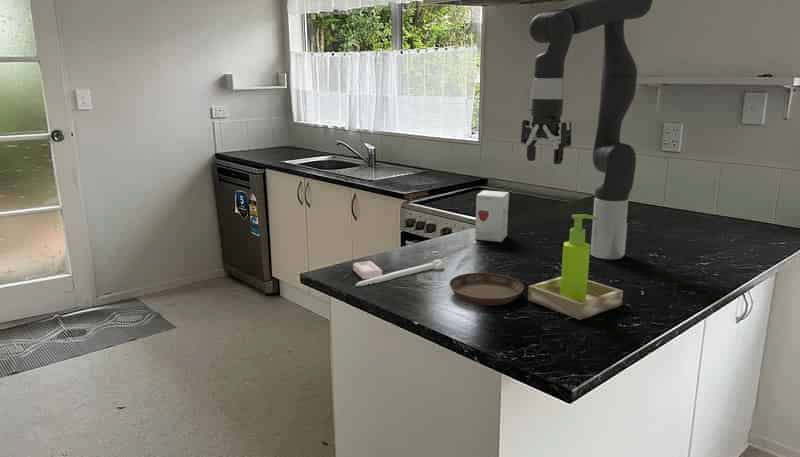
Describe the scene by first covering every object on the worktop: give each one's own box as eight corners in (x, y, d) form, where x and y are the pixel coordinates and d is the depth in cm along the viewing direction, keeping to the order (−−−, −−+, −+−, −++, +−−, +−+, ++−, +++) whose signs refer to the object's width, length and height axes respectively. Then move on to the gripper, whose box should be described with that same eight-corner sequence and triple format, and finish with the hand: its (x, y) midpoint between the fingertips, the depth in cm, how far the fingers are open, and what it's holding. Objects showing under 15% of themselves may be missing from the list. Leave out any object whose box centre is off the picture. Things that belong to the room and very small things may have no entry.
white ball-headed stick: (362, 291, 148) (362, 280, 147) (353, 286, 151) (353, 276, 151) (447, 270, 164) (447, 260, 164) (437, 266, 168) (437, 257, 167)
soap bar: (363, 280, 156) (363, 272, 155) (352, 270, 164) (352, 262, 163) (382, 278, 158) (382, 269, 157) (371, 268, 166) (371, 260, 165)
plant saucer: (536, 304, 139) (537, 292, 138) (465, 313, 134) (465, 300, 133) (502, 281, 155) (503, 269, 154) (438, 287, 150) (439, 276, 150)
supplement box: (474, 239, 194) (475, 194, 190) (481, 233, 202) (482, 189, 199) (501, 242, 191) (503, 196, 187) (507, 235, 199) (509, 191, 195)
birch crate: (569, 287, 149) (569, 274, 149) (621, 304, 138) (623, 290, 137) (527, 300, 141) (528, 285, 140) (580, 320, 129) (581, 304, 128)
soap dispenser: (591, 304, 136) (598, 218, 131) (560, 301, 137) (566, 217, 133) (589, 295, 142) (595, 212, 137) (559, 293, 143) (564, 211, 138)
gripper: (580, 97, 145) (576, 164, 149) (535, 96, 156) (532, 158, 160) (560, 98, 140) (556, 166, 144) (515, 96, 152) (513, 160, 155)
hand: (544, 162), depth 152 cm, fingers open, 8 cm apart
